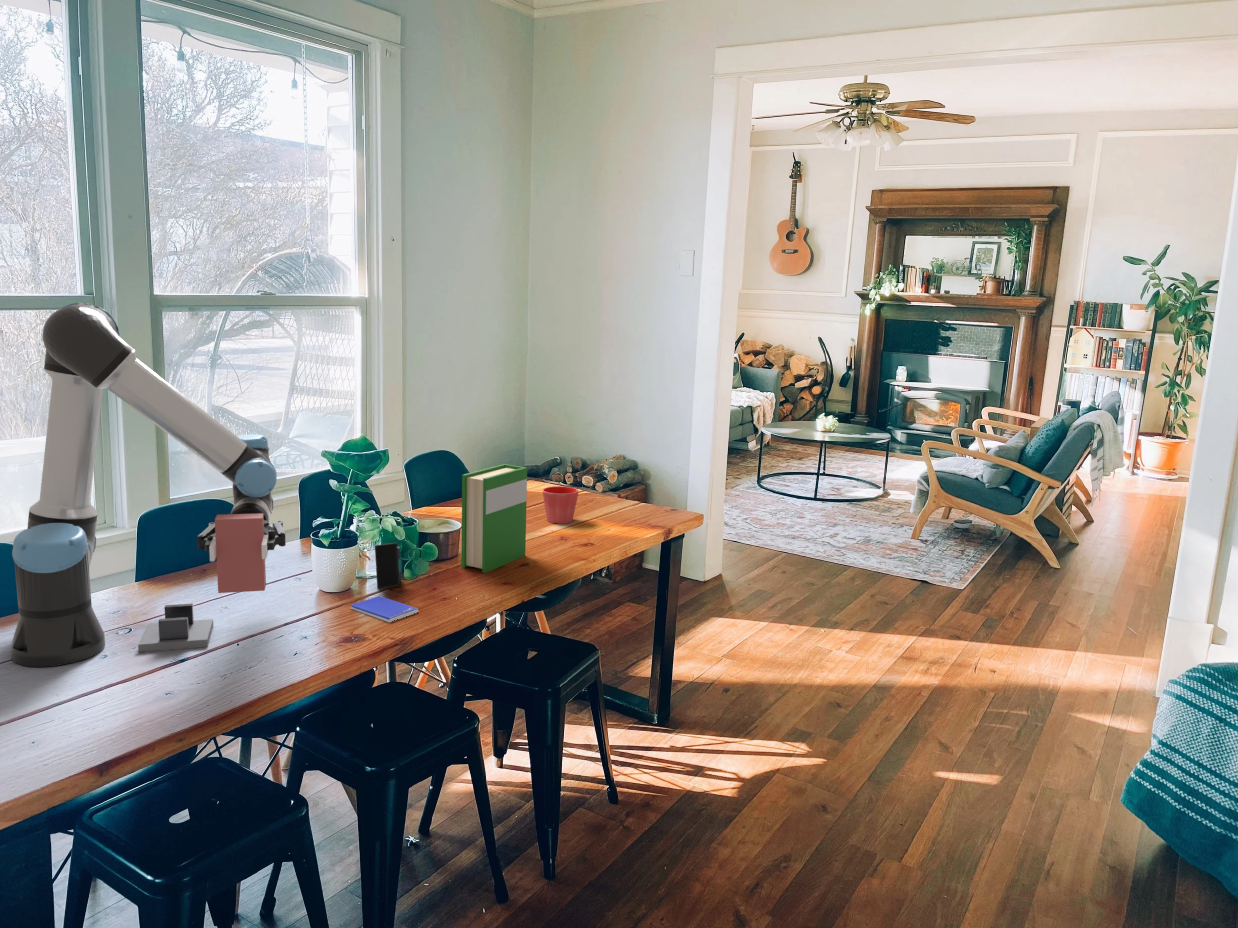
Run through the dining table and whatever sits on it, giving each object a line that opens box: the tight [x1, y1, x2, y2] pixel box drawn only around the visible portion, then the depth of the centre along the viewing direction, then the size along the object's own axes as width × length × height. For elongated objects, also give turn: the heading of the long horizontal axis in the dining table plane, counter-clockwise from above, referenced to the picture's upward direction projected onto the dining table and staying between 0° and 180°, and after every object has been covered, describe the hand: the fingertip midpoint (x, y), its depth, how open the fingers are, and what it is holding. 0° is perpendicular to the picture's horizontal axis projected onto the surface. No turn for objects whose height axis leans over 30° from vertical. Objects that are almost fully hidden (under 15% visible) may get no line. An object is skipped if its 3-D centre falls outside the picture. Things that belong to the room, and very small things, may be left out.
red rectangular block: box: [214, 513, 267, 594], centre depth 171 cm, size 8×4×14 cm, turn 107°
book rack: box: [137, 603, 214, 653], centre depth 181 cm, size 12×11×6 cm
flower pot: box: [541, 485, 579, 524], centre depth 281 cm, size 11×11×10 cm
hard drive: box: [350, 595, 419, 623], centre depth 201 cm, size 2×8×12 cm
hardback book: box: [460, 463, 528, 574], centre depth 237 cm, size 18×7×24 cm, turn 151°
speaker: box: [374, 542, 403, 590], centre depth 218 cm, size 8×6×10 cm
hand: (238, 552), depth 166 cm, fingers closed on red rectangular block, 8 cm apart
